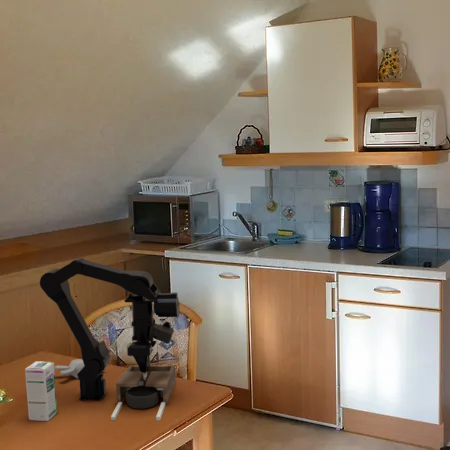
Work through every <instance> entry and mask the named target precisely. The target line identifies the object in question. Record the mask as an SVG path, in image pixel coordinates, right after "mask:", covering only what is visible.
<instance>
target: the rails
mask: <svg viewBox="0 0 450 450" xmlns="http://www.w3.org/2000/svg"><path fill="white" fill-rule="evenodd" d="M122 407H123V402H118V404H117V403H116V406H115V409H114V410H113V412H112V414H111V416H110V420H111V421H116V419H117V417H118V415H119V413H120V411H121V409H122ZM165 407H166V406H165V402H163V401H161V402H160V406H159V408H158V411H157V414H156V416H155V420H156V421H158V422H159V421H161V419H162V416H163V413H164V411H165Z"/></svg>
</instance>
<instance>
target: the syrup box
mask: <svg viewBox="0 0 450 450" xmlns="http://www.w3.org/2000/svg"><path fill="white" fill-rule="evenodd" d="M54 368H55V363H54V362H53V361H40V360H39V361H37V360H36V361H34V362H32V364H30V365H28V366H27V367H26V368H25V369H24V372H25V387H26V388H25V389H26V400H27V410H28V411H27V413H28V419H29V421H38V422H39V421H40V422H49V421H50V420H51V419H52V418H53V417H55V415H56V414H57V413H59V412H58V402H57V399H58V398H57V388H56V373H55V371H56V370H54Z"/></svg>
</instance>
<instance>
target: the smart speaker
mask: <svg viewBox="0 0 450 450" xmlns="http://www.w3.org/2000/svg"><path fill="white" fill-rule="evenodd" d="M125 398H126V404H127V406H128V407H130V408H132V409H133V408H134V409H138V410H139V409H140V410H141V409H149V408H151V407H154V406H156V405H157V404H158V402H159V399H160V398H159V397H158V390H157V389H156V388H155V387H146V385H141V386H137V387H132V388H130V389H129V390H128V391H127V393H126V396H125Z"/></svg>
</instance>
